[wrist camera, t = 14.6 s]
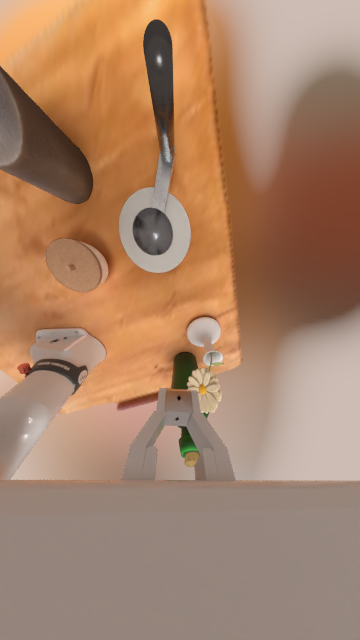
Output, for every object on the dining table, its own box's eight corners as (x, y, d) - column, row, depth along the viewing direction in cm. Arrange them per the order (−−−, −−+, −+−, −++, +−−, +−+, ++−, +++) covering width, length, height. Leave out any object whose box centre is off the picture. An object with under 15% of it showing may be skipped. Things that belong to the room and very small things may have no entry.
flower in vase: (210, 308, 40) (252, 374, 18) (224, 334, 45) (270, 411, 23) (176, 327, 43) (174, 404, 21) (192, 349, 48) (205, 432, 26)
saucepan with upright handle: (168, 259, 31) (162, 263, 18) (134, 249, 29) (103, 244, 17) (191, 159, 23) (207, 48, 11) (147, 140, 22) (108, -11, 10)
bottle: (166, 363, 51) (156, 468, 26) (180, 345, 47) (185, 447, 22) (188, 372, 53) (198, 475, 28) (203, 356, 49) (231, 459, 24)
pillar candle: (86, 140, 24) (-30, -5, 11) (98, 206, 28) (26, 162, 15) (33, 135, 24) (-155, -20, 10) (53, 203, 28) (-61, 155, 15)
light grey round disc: (125, 266, 34) (120, 267, 31) (122, 186, 27) (116, 177, 24) (183, 276, 36) (184, 277, 33) (195, 202, 29) (197, 196, 26)
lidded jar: (109, 241, 32) (85, 236, 23) (119, 285, 36) (102, 294, 28) (66, 241, 31) (25, 237, 23) (81, 285, 36) (53, 294, 28)
